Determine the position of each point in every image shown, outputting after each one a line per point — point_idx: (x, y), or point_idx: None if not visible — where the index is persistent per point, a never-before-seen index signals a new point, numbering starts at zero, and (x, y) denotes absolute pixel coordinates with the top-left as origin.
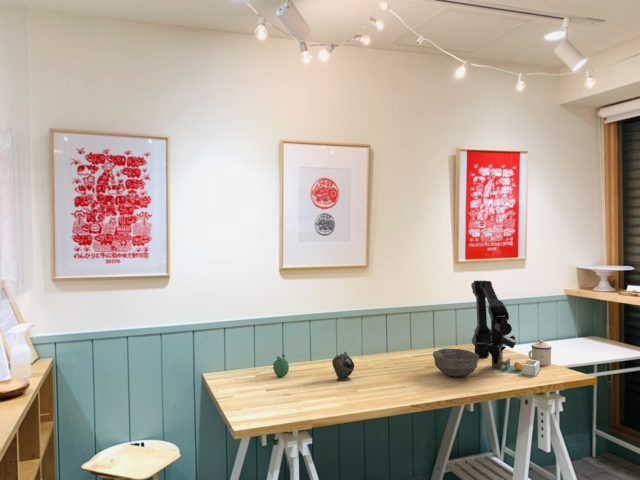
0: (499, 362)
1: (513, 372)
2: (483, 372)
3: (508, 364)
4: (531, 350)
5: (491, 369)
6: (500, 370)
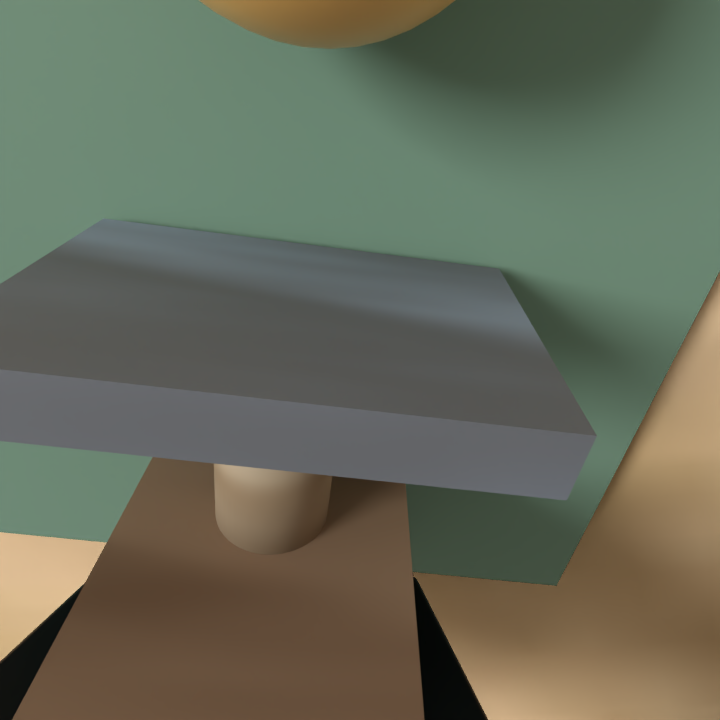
0: (404, 571)
1: (709, 34)
2: (663, 611)
3: (288, 296)
4: None
5: (510, 550)
6: None
